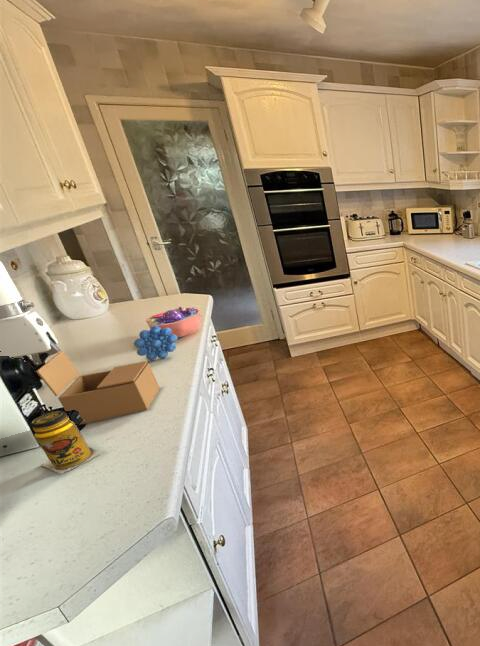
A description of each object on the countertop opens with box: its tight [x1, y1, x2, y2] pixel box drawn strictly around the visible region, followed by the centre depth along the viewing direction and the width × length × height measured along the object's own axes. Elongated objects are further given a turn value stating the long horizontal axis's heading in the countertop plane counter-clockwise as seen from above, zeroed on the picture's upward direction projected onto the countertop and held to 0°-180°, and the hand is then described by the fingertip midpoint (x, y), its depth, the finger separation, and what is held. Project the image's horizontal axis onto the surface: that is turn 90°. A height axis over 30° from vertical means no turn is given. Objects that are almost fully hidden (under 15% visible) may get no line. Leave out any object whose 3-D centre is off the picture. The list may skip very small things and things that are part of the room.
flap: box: [36, 350, 80, 397], centre depth 102 cm, size 7×13×1 cm
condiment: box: [30, 410, 104, 475], centre depth 88 cm, size 7×8×12 cm
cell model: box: [145, 306, 202, 339], centre depth 155 cm, size 17×20×11 cm
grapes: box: [133, 326, 178, 361], centre depth 136 cm, size 12×7×12 cm, turn 125°
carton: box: [57, 360, 160, 426], centre depth 108 cm, size 15×13×9 cm
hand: (43, 377), depth 101 cm, fingers closed
